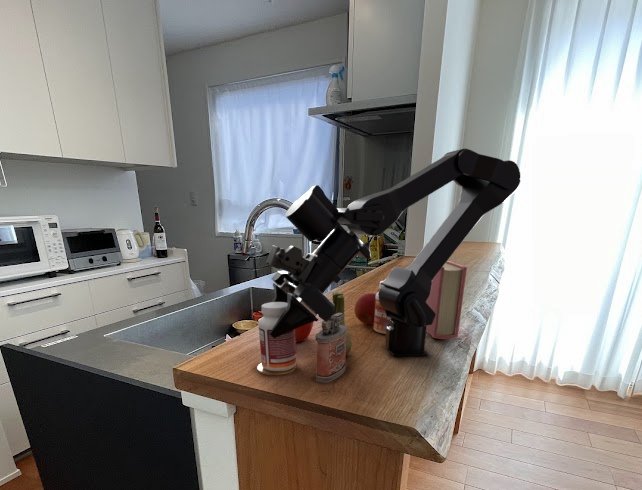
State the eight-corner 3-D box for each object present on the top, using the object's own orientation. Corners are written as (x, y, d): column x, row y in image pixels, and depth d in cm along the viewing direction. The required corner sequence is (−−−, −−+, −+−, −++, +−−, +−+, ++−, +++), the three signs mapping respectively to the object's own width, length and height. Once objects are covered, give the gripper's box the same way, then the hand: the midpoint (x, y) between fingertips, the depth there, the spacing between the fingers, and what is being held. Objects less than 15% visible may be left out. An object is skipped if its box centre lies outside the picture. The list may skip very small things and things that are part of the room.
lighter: (329, 384, 60) (330, 323, 57) (311, 379, 62) (310, 320, 59) (350, 367, 67) (352, 312, 63) (333, 364, 69) (334, 309, 65)
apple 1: (305, 332, 88) (305, 285, 84) (320, 342, 80) (320, 291, 77) (271, 336, 85) (269, 288, 82) (283, 347, 78) (282, 295, 74)
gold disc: (295, 360, 71) (295, 359, 70) (296, 374, 64) (295, 373, 64) (258, 361, 71) (258, 360, 70) (255, 376, 64) (255, 374, 64)
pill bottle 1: (303, 362, 68) (301, 302, 65) (284, 375, 63) (281, 310, 60) (274, 357, 71) (270, 299, 68) (254, 368, 66) (249, 307, 63)
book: (432, 341, 79) (457, 341, 79) (440, 267, 74) (467, 267, 74) (415, 323, 93) (436, 323, 93) (421, 259, 88) (443, 259, 88)
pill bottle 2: (369, 332, 86) (371, 283, 82) (379, 325, 91) (382, 279, 87) (395, 336, 83) (399, 285, 79) (405, 329, 87) (409, 281, 84)
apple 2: (387, 299, 86) (378, 281, 92) (353, 313, 88) (347, 294, 94) (395, 323, 91) (386, 304, 97) (363, 335, 93) (356, 316, 99)
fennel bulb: (330, 348, 77) (330, 289, 73) (354, 350, 75) (356, 290, 71) (321, 358, 72) (322, 294, 68) (347, 360, 70) (349, 296, 66)
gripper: (280, 225, 69) (224, 290, 70) (314, 228, 52) (239, 313, 53) (321, 267, 74) (268, 327, 74) (364, 281, 57) (295, 359, 58)
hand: (267, 330), depth 65 cm, fingers closed on pill bottle 1, 6 cm apart
